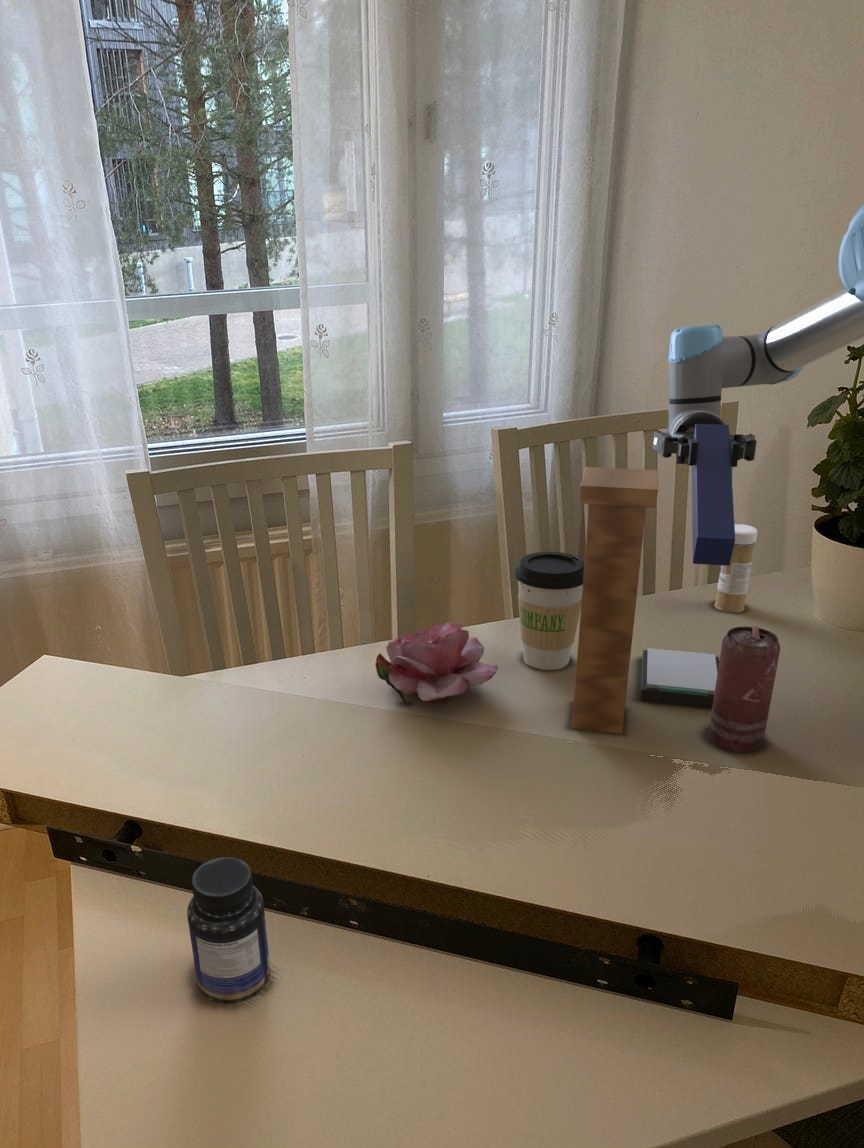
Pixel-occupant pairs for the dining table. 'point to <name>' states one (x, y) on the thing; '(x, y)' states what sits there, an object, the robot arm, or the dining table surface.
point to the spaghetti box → (712, 497)
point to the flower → (434, 663)
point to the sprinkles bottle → (736, 571)
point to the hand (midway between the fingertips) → (714, 454)
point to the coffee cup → (549, 606)
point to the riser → (609, 591)
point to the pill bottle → (228, 931)
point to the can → (744, 688)
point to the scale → (679, 677)
